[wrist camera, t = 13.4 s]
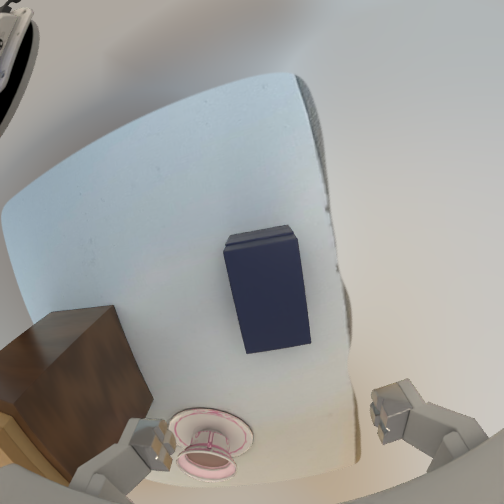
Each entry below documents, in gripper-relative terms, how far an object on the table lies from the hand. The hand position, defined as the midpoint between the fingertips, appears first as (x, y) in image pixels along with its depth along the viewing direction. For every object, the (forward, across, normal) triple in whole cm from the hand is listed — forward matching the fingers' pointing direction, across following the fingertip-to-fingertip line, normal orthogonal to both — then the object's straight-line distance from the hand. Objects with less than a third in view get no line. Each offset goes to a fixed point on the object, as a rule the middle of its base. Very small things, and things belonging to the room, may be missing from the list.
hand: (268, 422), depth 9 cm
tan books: (+1, +22, +8) cm, 24 cm away
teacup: (+18, +11, +23) cm, 31 cm away
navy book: (+15, -1, +1) cm, 15 cm away
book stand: (+19, +22, +8) cm, 30 cm away
